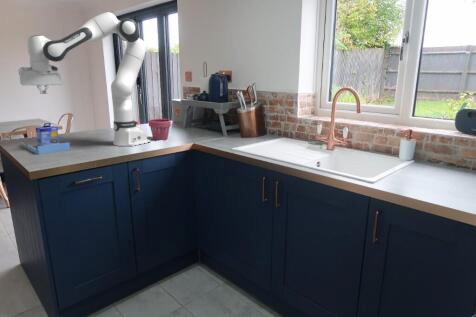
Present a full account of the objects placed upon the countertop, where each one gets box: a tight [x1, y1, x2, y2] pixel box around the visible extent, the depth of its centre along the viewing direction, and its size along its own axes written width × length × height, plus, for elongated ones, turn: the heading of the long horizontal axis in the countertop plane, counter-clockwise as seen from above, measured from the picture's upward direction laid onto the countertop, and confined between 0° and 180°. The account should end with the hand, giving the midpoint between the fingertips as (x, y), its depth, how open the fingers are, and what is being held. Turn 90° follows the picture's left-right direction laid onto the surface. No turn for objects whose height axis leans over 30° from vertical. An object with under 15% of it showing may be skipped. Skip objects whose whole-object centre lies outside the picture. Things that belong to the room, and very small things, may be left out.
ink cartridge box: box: [35, 122, 60, 147], centre depth 185 cm, size 10×6×14 cm, turn 148°
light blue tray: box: [19, 141, 71, 155], centre depth 187 cm, size 16×31×4 cm, turn 47°
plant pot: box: [148, 118, 172, 141], centre depth 215 cm, size 14×14×13 cm
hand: (43, 93), depth 178 cm, fingers closed
